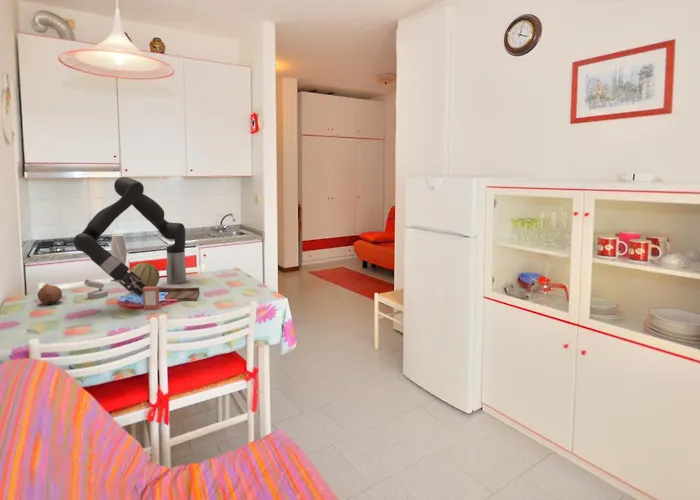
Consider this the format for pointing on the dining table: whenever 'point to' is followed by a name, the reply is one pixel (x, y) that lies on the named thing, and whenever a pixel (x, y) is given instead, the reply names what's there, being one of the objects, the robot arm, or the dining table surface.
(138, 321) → the dining table surface
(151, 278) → the cantaloupe
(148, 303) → the picture frame
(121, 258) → the skyscraper
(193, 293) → the display ledge
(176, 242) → the robot arm
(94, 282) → the security camera
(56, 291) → the brown round lump
